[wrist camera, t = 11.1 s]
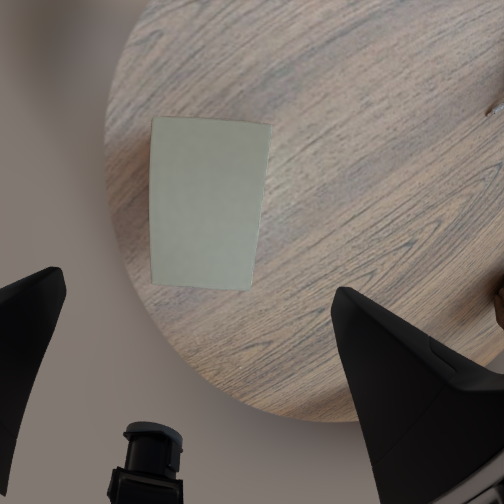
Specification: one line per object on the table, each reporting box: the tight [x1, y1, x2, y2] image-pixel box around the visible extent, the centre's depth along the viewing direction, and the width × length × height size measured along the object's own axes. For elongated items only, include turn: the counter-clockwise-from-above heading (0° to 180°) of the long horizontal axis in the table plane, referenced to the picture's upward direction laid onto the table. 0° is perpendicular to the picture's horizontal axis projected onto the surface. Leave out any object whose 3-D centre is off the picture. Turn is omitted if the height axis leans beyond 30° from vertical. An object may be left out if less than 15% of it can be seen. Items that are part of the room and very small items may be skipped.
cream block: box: [149, 116, 272, 291], centre depth 14 cm, size 8×5×2 cm, turn 173°
